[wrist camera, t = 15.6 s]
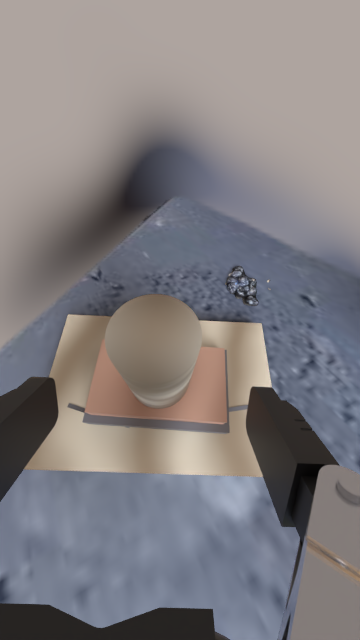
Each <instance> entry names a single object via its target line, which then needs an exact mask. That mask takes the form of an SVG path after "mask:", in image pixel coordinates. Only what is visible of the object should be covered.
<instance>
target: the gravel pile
mask: <svg viewBox="0 0 360 640" xmlns="http://www.w3.org/2000/svg"><path fill="white" fill-rule="evenodd" d="M269 281H270V280H268V281H267V282H269ZM256 283H257V282H256V279H254V278H248V277H247V276H246V275H245V272H244V270H243V268H242V267H241V266H237V267H235V268H233V270H232V272H231V273H230V274H229V277H228V279H227V282H226V283H225V284H226V285H227V290H228V291H229V292H230V293H231V294H235V297H236V298H238V299H241V298H243V299H242V300H243V303H244V304H246V305H249V306H257V305H258V300H257V299H256V293H257V289H256ZM268 289H269V288H268ZM269 290H271V289H269Z"/></svg>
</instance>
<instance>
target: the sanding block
mask: <svg viewBox="0 0 360 640" xmlns="http://www.w3.org/2000/svg"><path fill="white" fill-rule="evenodd" d="M201 344H202V330H201V325H200V322H199V320H198V318H197V316H196V315H195V313H194V312H193V311H192V310H191V308H190V307H189V306H187V305H186V304H185V303H183V302H182V301H180V300H178V299H176V298H174V297H171V296H167V295H162V294H148V295H143V296H139V297H136V298H134V299H132V300H130V301H128V302H126V303H125V304H123V305H122V306H121V307H120V308H119V309H118V310H117V311H116V312H115V313H114V314H113V316H112V317H111V319H110V321H109V323H108V325H107V328H106V332H105V339H102V343H101V347H100V351H99V355H98V359H97V363H96V367H95V371H94V375H93V379H92V383H91V387H90V391H89V395H88V399H87V403H86V407H85V413H84V417H83V421H82V422H83V423H87V424H95V425H109V426H122V427H136V428H150V429H164V430H178V431H192V432H205V433H219V434H227V433H230V426H229V399H228V373H227V350H225V348H213V347H201Z"/></svg>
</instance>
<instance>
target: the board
mask: <svg viewBox="0 0 360 640" xmlns="http://www.w3.org/2000/svg"><path fill="white" fill-rule="evenodd" d="M111 317H112V316H91V315H69V314H68V316H67V320H66V323H65V326H64V329H63V333H62V336H61V339H60V343H59V346H58V349H57V352H56V356H55V359H54V362H53V365H52V369H51V372H50V375H49V377H50V378H53V379H54V380H55V385H56V393H57V401H58V410H59V413H58V419H57V422H56V424H55V426H54V428H53V429H52V431H51V432H50V433H49V435H48V436H47V437H46V439H45V440H44V442H43V443H42V444H41V446H40V447H39V449H38V450H37V451H36V453H35V454H34V456H33V457H32V458H31V460H30V461H29V462H28V464H27V465H26V467H25V468H24V469H30V470H61V471H93V472H125V473H157V474H188V475H220V476H252V477H263V475H262V472H261V470H260V467H259V464H258V462H257V459H256V456H255V454H254V451H253V448H252V446H251V443H250V440H249V438H248V435H247V430H246V415H247V408H248V402H249V395H250V390H251V388H252V387H253V386H255V387H272V386H271V380H270V373H269V367H268V361H267V355H266V348H265V342H264V336H263V330H262V323H242V322H220V321H199V322H200V325H201V330H202V344H201V347H213V348H225V350H227V373H228V399H229V426H230V433H227V434H219V433H205V432H192V431H178V430H164V429H150V428H136V427H122V426H109V425H95V424H87V423H83V422H82V421H83V417H84V413H85V407H86V403H87V399H88V395H89V391H90V387H91V383H92V379H93V375H94V371H95V367H96V363H97V359H98V355H99V351H100V347H101V343H102V339H105V332H106V328H107V325H108V323H109V321H110V319H111Z"/></svg>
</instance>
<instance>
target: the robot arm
mask: <svg viewBox="0 0 360 640" xmlns="http://www.w3.org/2000/svg"><path fill="white" fill-rule="evenodd" d="M58 413H59V410H58V401H57V393H56V385H55V380H54V379H53V378H50V377H31V378H29V379H28V380H27V381H25V382H24V383H23V384H22V385H21V386H19V387H18V388H17V389H14V390H12V391H10V392H8V393H6V394H4V395H2V396H0V501H1V500H2V499H3V497H4V496H5V494H6V493H7V492H8V490H9V489H10V487H11V486H12V485H13V483H14V482H15V481H16V479H17V478H18V476H19V475H20V474H21V472H22V471H23V469H24V468H25V467H26V465H27V464H28V462H29V461H30V460H31V458H32V457H33V456H34V454H35V453H36V451H37V450H38V449H39V447H40V446H41V444H42V443H43V442H44V440H45V439H46V437H47V436H48V435H49V433H50V432H51V431H52V429H53V428H54V426H55V424H56V422H57V419H58ZM246 430H247V435H248V438H249V440H250V443H251V446H252V448H253V451H254V454H255V456H256V459H257V462H258V464H259V467H260V470H261V472H262V475H263V478H264V480H265V483H266V486H267V488H268V491H269V494H270V497H271V499H272V502H273V505H274V507H275V510H276V513H277V515H278V518H279V521H280V523H281V526H282V527H296V529H297V532H298V534H299V536H300V540H299V544H298V548H297V553H296V557H295V562H294V567H293V571H292V576H291V581H290V585H289V590H288V595H287V599H286V604H285V609H284V613H283V618H282V622H281V627H280V631H279V635H278V639H277V640H360V475H359V474H358V473H356V472H354V471H352V470H350V469H348V468H345V467H342V466H340V465H339V464H338V463H337V461H336V460H335V459H334V457H333V456H332V455H331V453H330V452H329V451H328V449H327V448H326V447H325V445H324V444H323V443H322V441H321V440H320V439H319V437H318V436H317V435H316V433H315V432H314V431H312V428H311V427H310V425H309V424H308V423H307V422H306V421H305V419H304V417H303V416H302V415H301V413H300V412H299V411H298V409H296V408H295V407H294V406H292V405H291V404H290V403H288V402H287V401H284V400H280V398H279V397H278V395H277V394H276V392H275V391H274V389H273V388H272V387H255V386H253V387H252V388H251V390H250V395H249V402H248V408H247V415H246ZM0 640H230V639H228V638H227V637H225V636H223V635H221V634H219V633H217V632H215V629H214V618H213V609H190V608H157V609H155V610H152V611H149V612H146V613H144V614H141V615H138V616H135V617H133V618H130V619H127V620H124V621H122V622H119V623H116V624H113V625H111V626H108V627H105V628H96V627H93V626H91V625H89V624H87V623H85V622H83V621H81V620H79V619H77V618H75V617H73V616H71V615H69V614H67V613H65V612H63V611H61V610H59V609H56V608H54V607H52V606H50V605H39V604H2V603H0Z"/></svg>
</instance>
